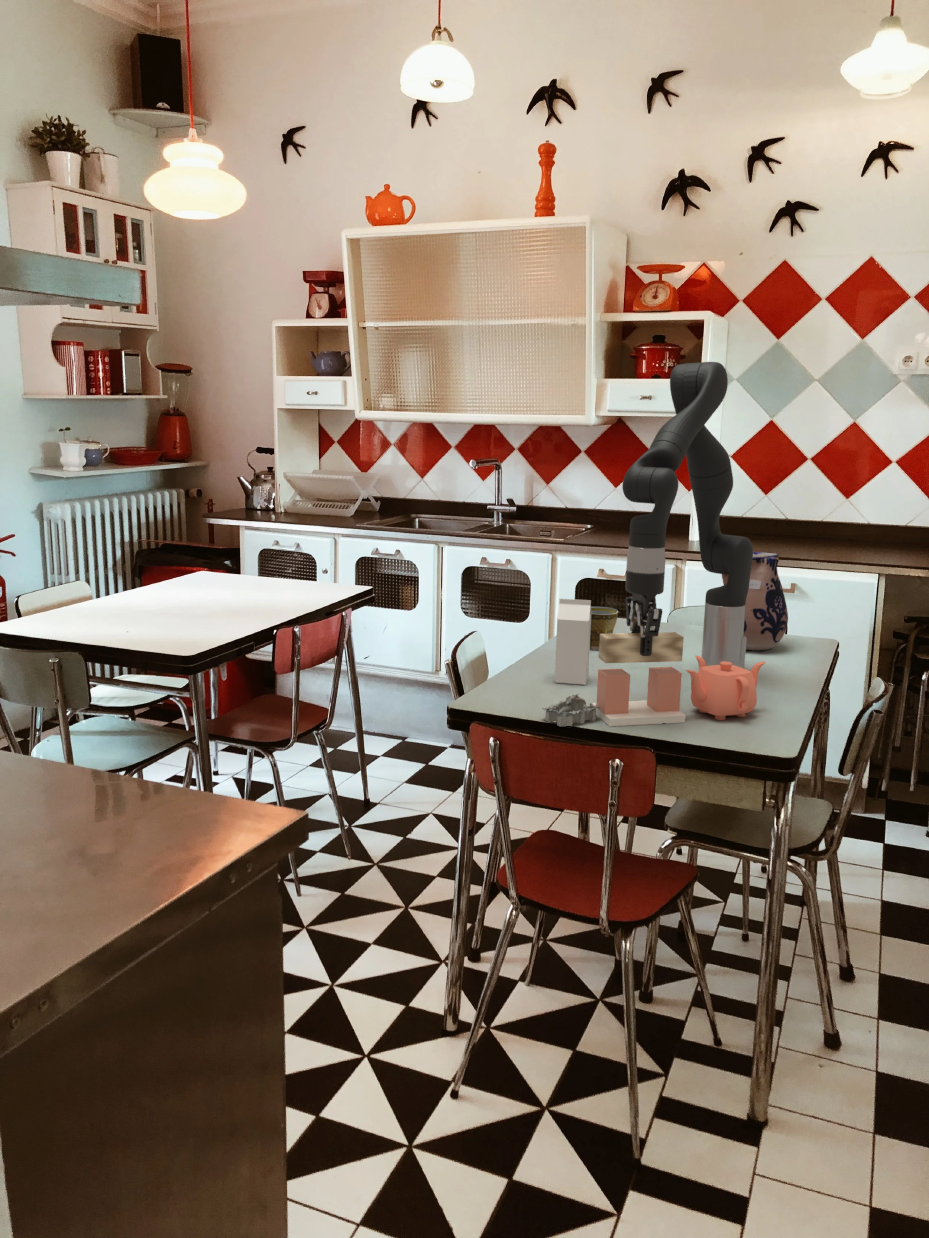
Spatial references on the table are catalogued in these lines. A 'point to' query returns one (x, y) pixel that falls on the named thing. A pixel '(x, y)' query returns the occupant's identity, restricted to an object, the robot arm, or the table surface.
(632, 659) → the oak beam
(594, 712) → the egg carton
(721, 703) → the teapot
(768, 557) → the ceramic pitcher
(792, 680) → the table surface
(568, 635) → the milk carton
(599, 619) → the ceramic cup
